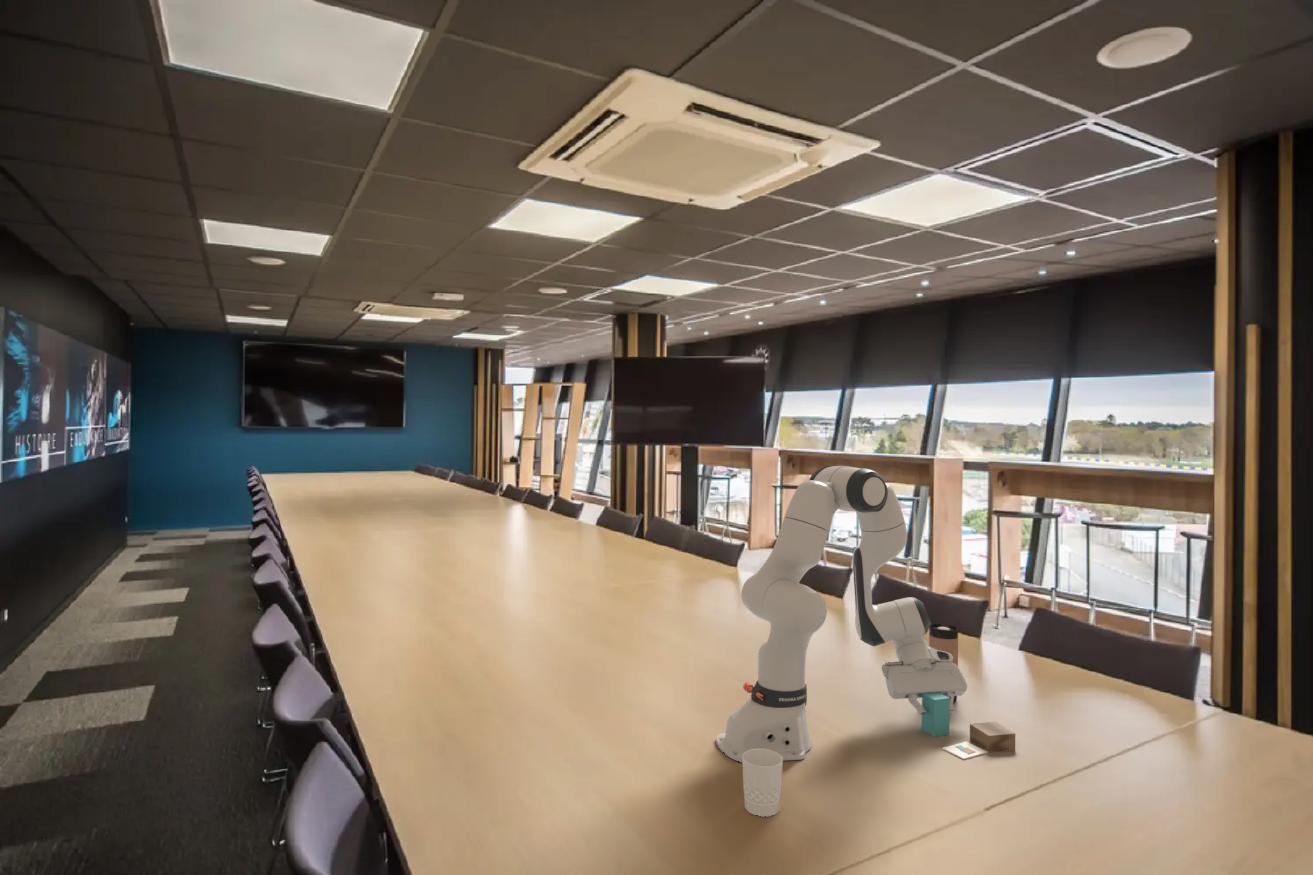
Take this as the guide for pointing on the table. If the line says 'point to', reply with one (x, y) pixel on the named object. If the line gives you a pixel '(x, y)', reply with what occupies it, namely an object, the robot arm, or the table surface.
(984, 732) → the walnut brick
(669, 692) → the table surface
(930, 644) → the travel mug
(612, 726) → the table surface
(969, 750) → the page
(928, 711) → the teal brick
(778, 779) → the white cup
